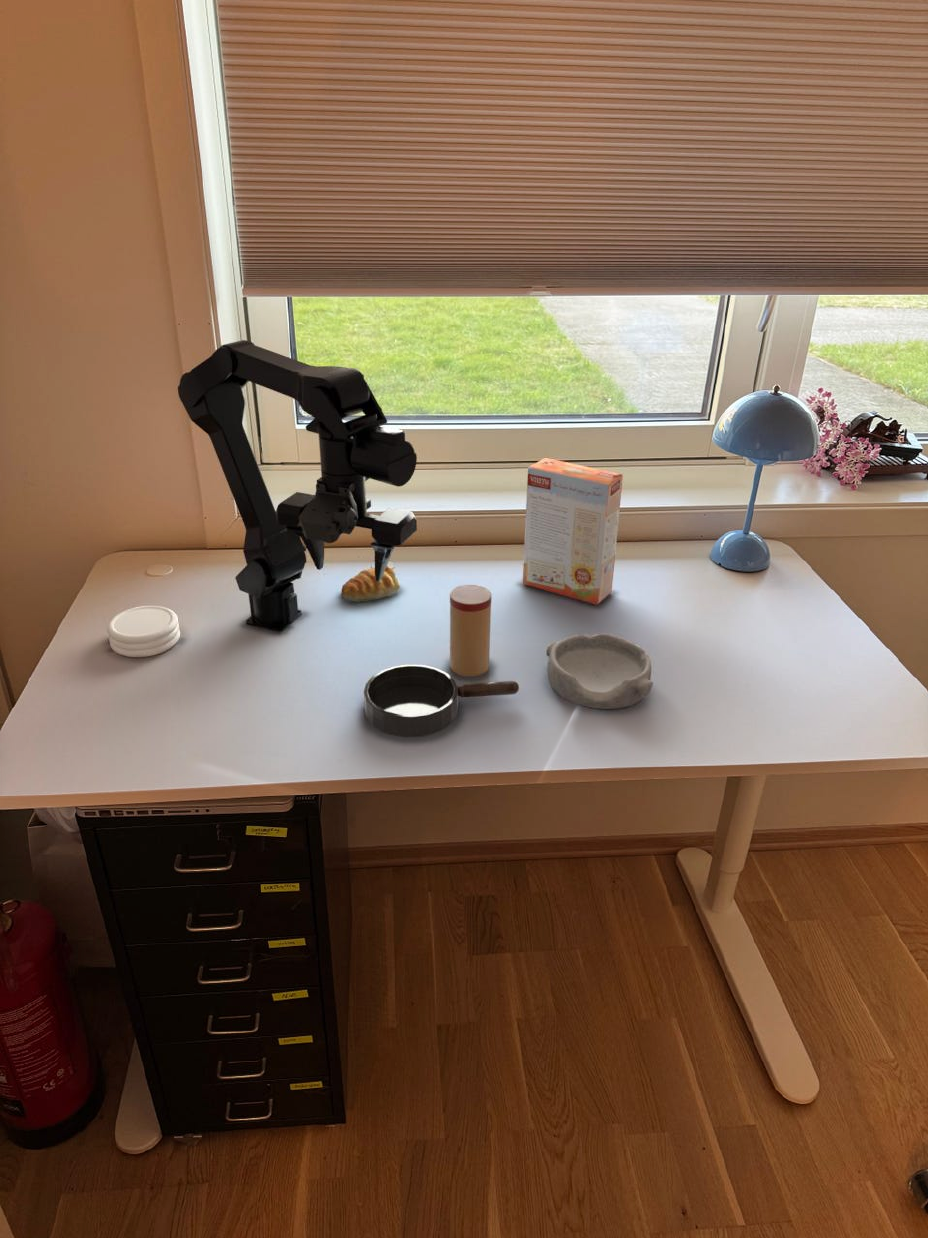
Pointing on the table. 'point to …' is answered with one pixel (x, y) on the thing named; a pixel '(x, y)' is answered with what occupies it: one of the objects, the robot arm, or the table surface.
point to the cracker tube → (470, 629)
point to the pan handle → (487, 689)
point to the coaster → (143, 631)
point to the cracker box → (571, 529)
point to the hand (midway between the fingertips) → (349, 574)
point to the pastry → (370, 586)
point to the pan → (411, 700)
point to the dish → (599, 671)
